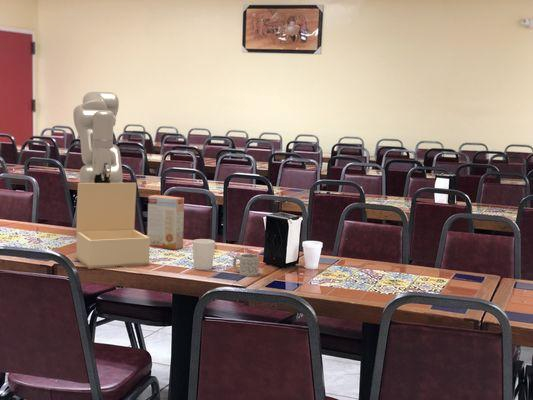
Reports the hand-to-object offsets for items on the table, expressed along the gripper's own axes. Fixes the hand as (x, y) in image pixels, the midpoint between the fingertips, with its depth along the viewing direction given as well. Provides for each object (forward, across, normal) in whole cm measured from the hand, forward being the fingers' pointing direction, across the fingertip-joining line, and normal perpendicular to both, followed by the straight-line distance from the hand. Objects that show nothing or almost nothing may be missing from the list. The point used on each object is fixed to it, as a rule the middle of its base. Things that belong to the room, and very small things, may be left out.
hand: (101, 189), depth 291 cm
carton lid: (+6, +7, 0) cm, 9 cm away
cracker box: (+25, -5, +28) cm, 38 cm away
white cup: (+25, +35, +28) cm, 51 cm away
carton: (+25, +16, 0) cm, 29 cm away
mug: (+25, +47, +39) cm, 66 cm away
